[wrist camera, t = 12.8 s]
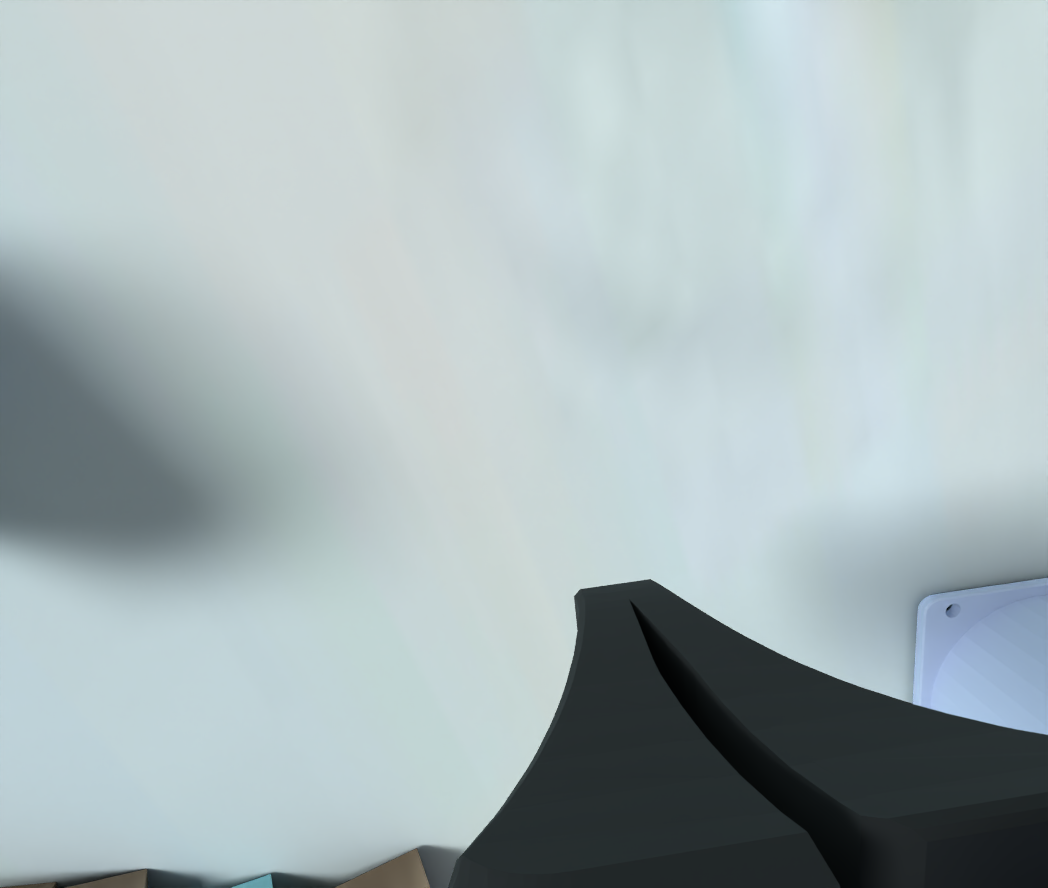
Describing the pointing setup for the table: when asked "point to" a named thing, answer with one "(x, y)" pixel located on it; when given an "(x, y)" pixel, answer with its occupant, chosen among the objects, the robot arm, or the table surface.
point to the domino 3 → (393, 874)
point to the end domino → (36, 886)
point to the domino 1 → (119, 881)
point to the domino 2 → (257, 883)
